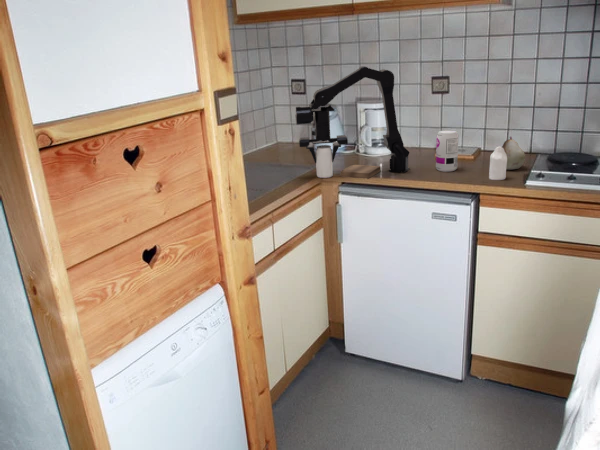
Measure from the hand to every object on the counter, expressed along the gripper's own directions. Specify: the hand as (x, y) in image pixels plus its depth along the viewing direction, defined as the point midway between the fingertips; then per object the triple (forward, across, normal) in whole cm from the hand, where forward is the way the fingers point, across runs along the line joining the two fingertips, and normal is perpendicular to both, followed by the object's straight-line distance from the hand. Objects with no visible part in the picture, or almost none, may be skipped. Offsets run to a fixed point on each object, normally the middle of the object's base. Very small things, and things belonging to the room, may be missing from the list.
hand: (324, 162), depth 216 cm
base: (+6, -14, -1) cm, 16 cm away
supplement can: (+6, -48, 0) cm, 49 cm away
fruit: (+6, -72, +5) cm, 73 cm away
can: (+6, 0, 0) cm, 6 cm away
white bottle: (+6, -63, +18) cm, 65 cm away
